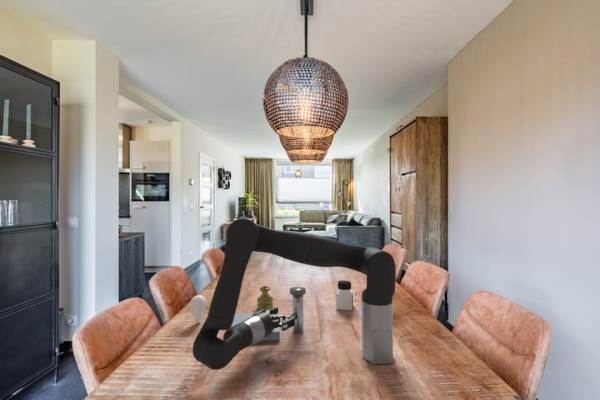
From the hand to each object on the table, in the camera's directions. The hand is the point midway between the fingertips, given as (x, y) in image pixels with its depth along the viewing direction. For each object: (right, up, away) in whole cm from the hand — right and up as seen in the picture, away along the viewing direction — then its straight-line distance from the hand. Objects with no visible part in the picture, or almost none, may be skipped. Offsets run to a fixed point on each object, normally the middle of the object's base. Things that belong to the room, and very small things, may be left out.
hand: (286, 312), depth 106 cm
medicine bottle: (+25, -9, +30) cm, 40 cm away
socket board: (-12, -9, +6) cm, 16 cm away
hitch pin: (+4, -9, +6) cm, 11 cm away
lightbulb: (-36, -10, +13) cm, 39 cm away
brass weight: (-11, -9, +29) cm, 33 cm away
